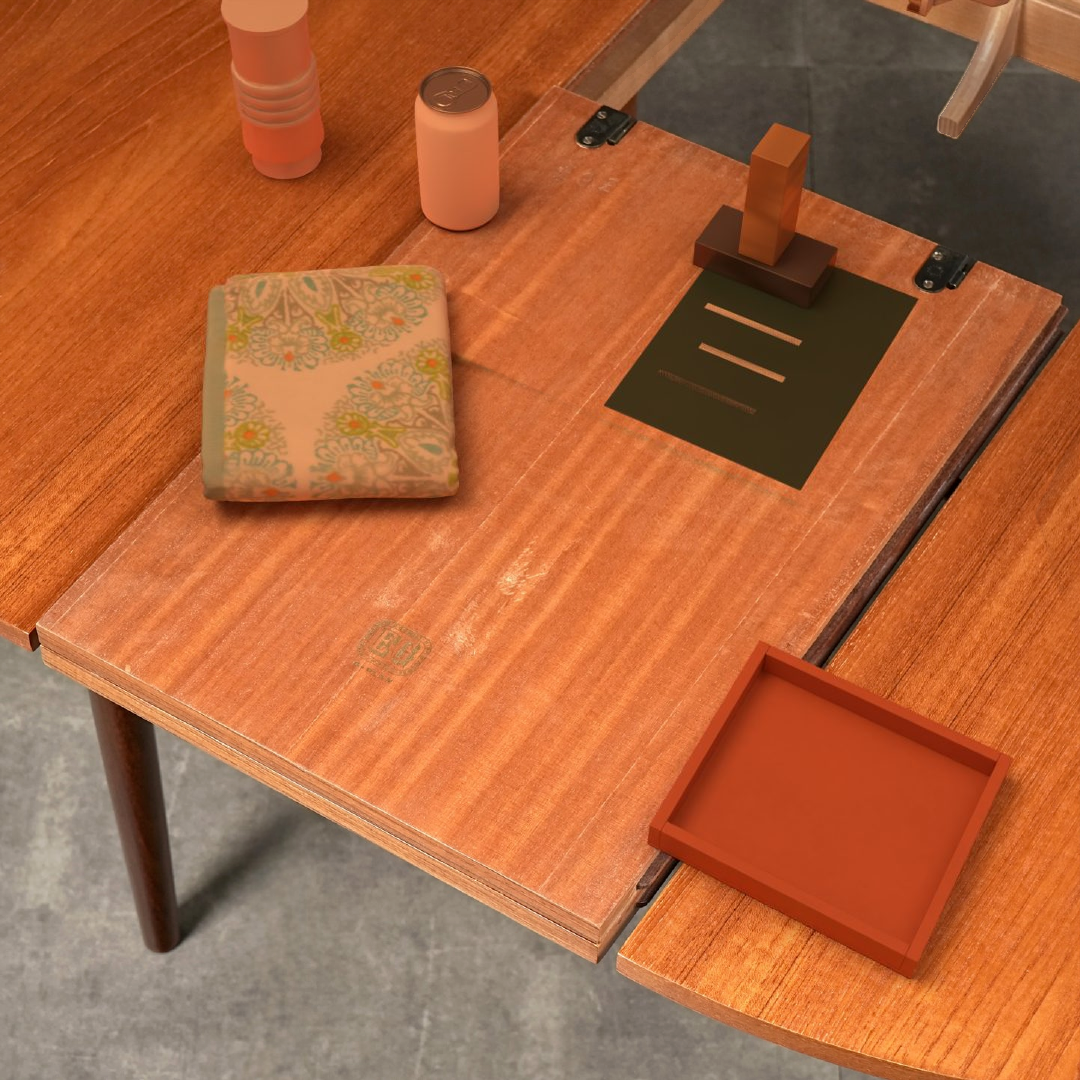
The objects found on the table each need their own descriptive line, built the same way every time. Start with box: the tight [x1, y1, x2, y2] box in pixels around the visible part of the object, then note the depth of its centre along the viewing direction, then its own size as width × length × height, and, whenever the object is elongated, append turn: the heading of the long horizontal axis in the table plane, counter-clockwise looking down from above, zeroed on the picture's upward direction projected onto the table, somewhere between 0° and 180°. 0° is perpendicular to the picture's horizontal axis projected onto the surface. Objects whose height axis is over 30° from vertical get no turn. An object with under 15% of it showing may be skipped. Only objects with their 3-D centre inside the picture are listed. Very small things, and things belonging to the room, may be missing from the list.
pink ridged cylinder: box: [220, 0, 326, 180], centre depth 137 cm, size 7×7×15 cm
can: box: [414, 65, 500, 232], centre depth 135 cm, size 6×6×12 cm
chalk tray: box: [646, 639, 1014, 979], centre depth 106 cm, size 18×16×2 cm
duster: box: [692, 122, 839, 309], centre depth 129 cm, size 10×5×12 cm, turn 60°
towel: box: [200, 264, 460, 503], centre depth 125 cm, size 18×21×5 cm
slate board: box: [603, 265, 919, 491], centre depth 129 cm, size 16×22×1 cm
